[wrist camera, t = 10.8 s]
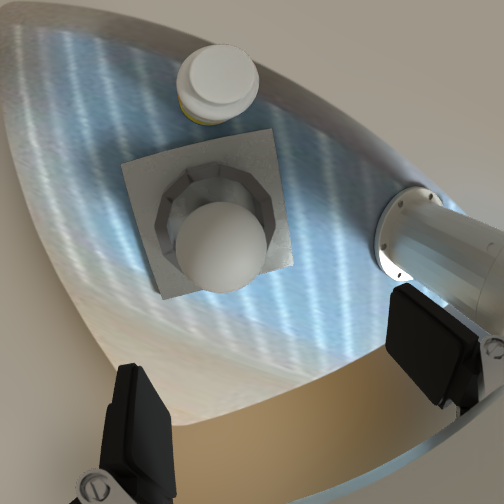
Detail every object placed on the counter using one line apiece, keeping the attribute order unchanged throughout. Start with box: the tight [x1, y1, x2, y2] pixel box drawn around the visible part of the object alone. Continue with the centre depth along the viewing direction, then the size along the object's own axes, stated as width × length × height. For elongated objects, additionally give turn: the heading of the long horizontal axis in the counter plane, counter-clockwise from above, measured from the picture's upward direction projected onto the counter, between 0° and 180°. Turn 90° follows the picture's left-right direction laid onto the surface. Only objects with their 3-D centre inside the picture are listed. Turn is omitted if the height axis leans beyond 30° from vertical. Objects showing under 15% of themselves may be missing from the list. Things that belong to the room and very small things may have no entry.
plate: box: [121, 128, 294, 300], centre depth 28 cm, size 14×14×1 cm
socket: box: [154, 162, 276, 275], centre depth 26 cm, size 10×10×3 cm
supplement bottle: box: [176, 44, 259, 126], centre depth 19 cm, size 6×6×10 cm
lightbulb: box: [176, 202, 267, 293], centre depth 22 cm, size 6×6×11 cm
